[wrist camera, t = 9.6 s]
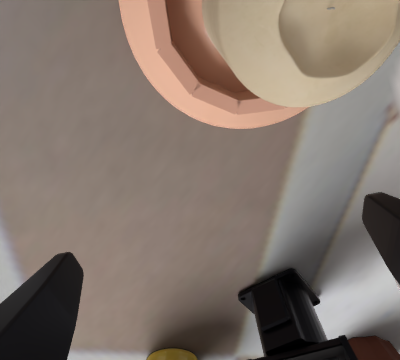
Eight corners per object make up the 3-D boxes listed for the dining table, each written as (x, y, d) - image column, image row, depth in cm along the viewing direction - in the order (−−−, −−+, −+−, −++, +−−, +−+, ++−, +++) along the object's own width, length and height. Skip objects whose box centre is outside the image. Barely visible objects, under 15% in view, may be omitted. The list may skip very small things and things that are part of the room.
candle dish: (413, 33, 16) (445, 37, 14) (217, 162, 20) (221, 179, 18) (316, -317, 10) (350, -396, 8) (61, -31, 14) (40, -37, 12)
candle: (179, -11, 14) (174, -30, 6) (276, -93, 13) (456, -279, 4) (235, 80, 17) (285, 159, 8) (320, 21, 15) (488, 42, 7)
